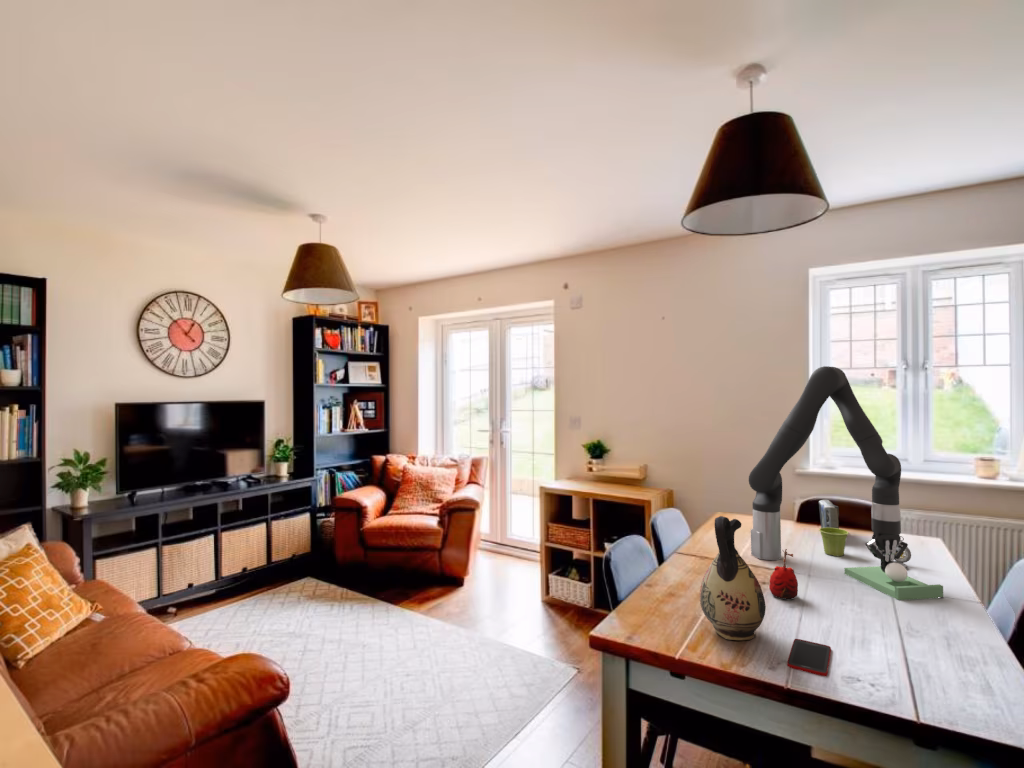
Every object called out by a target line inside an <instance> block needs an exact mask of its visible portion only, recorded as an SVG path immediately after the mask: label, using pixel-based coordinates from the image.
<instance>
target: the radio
mask: <svg viewBox="0 0 1024 768" xmlns="http://www.w3.org/2000/svg"><path fill="white" fill-rule="evenodd" d="M839 508H840V507H839V506H838V505H835V504H833V502H832V501H831V500H829V499H824V498H823V499H821V500H819V501H818V509H819V520H820V528H838V529H840V528H839V527H840V526H839V525H840V524H839V523H840V521H839V516H840V511H839Z"/></svg>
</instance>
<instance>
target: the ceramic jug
mask: <svg viewBox="0 0 1024 768" xmlns="http://www.w3.org/2000/svg"><path fill="white" fill-rule="evenodd" d="M741 527H742V522H741V521H740V520H739V519H736V518H733V519H731V520H730V519H729V518H728V517H725V516H723V515H722V516H721V515H720V516H718V517H715V519H714V535H715V539H716V544H717V548H718V552H717V554H716V556H715V557H714V559H713V560H712V561H711V563H710V565H708V566H709V567H708V568H707V570H706V571H705V573H704V575H703V578H702V580H701V584H700V588H699V589H700V590H699V602H700V603H699V605H700V606H701V611H702V613H703V615H705V618H706V619H707V620H708V621H709V622H710V623H711V625H712V626H713V629H714V630H715V633H716V634H717V635H719V637H721V638H723V639H725V640H729V641H730V640H731V641H732V640H733V641H750V640H753V639H754V637H755V636H756V634H755V631H756V630H757V629H759V627H760V626H761V625H762V623H763V621H764V618H765V615H766V607H767V606H766V601H765V597H764V596H765V595H764V592H763V590H762V587H761V585H760V582H759V581H758V578H757V577H756V575H755V573H754V572H753V571H752V569H751V568H750V566H749V565H748V564H747V563H746V561H745V560H744V558H743V557H742V556H741V555H740V554H739V551H738V550H737V549H736V547H735V545H736V544H735V533H736V531H737V530H739V529H740V528H741ZM728 649H729V648H728Z"/></svg>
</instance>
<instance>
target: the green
mask: <svg viewBox="0 0 1024 768" xmlns="http://www.w3.org/2000/svg"><path fill="white" fill-rule="evenodd" d="M843 574H844V575H845V576H849V577H850V578H852V579H854V580H857V581H859V582H861V583H863V584H864V585H866V586H869V587H871V588H873V589H875V590H877V591H879V592H881V593H883V594H885V595H887V596H889V597H891V598H893V599H896V600H898V601H901V600H902V601H906V600H907V601H909V600H910V601H911V600H926V599H927V600H930V599H929V598H932V599H939V598H938V597H943V598H944V585H942V584H928V583H925V582H923V581H920V580H919V579H916V578H914V577H911V576H909V575H907V578H906V579H905V580H904V581H902V582H895V581H892V580H891V579H889V578H888V577H887V575H886V573H885V572H883V571H882V570H881V565H880V566H879V565H877V566H875V565H874V566H856V567H854V566H852V567H844V573H843Z"/></svg>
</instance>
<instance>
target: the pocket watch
mask: <svg viewBox="0 0 1024 768" xmlns="http://www.w3.org/2000/svg"><path fill="white" fill-rule="evenodd" d="M899 536H900V538H901V540H902V541H903V542H904V536H901V535H899ZM911 558H912V552H911V550H910V548H909V547H908V546H907V547H906V549H905V550H904V552H903V553H902V555H901V556H900V558H899V559H894V561H893V563H899V564H901V565H902V566H904V567H905V568H906V569H907V567H908V565H907V564H906V563H908V562H909V561H910V560H911Z"/></svg>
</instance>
